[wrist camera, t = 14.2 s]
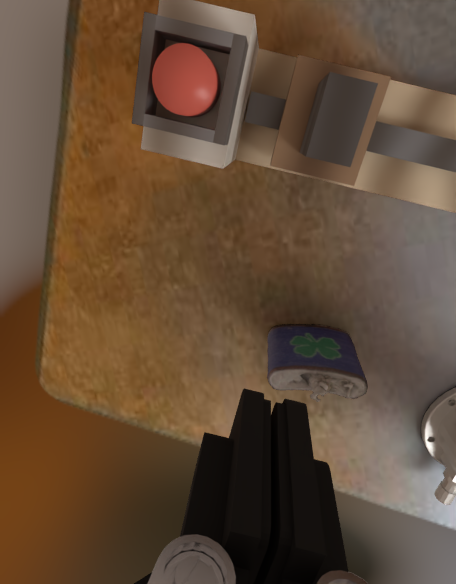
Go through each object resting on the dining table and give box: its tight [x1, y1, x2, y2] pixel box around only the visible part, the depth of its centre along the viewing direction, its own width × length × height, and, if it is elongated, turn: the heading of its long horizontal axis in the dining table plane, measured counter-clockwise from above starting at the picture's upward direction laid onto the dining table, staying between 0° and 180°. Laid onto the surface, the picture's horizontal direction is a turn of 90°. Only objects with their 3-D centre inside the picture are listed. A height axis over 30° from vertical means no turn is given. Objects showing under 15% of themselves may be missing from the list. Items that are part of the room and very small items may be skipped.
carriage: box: [270, 55, 391, 186], centre depth 29 cm, size 7×8×9 cm
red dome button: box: [152, 43, 221, 117], centre depth 23 cm, size 4×4×3 cm
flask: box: [267, 324, 367, 402], centre depth 39 cm, size 9×3×11 cm, turn 87°
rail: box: [132, 0, 456, 213], centre depth 29 cm, size 29×9×14 cm, turn 78°
